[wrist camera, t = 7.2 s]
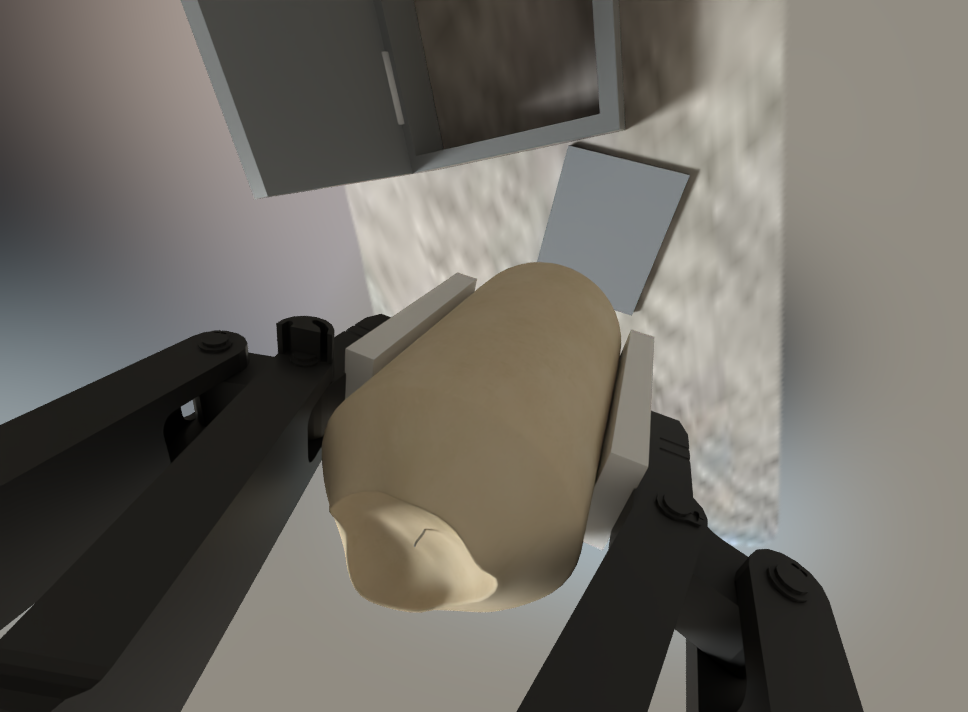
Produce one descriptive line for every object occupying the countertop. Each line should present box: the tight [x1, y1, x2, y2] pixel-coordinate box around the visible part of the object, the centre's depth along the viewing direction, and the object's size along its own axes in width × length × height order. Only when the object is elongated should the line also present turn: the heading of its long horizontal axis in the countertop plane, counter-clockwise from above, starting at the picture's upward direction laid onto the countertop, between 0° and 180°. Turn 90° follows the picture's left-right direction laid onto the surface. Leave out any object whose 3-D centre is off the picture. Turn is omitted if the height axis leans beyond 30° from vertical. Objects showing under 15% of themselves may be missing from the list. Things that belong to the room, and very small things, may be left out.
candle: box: [322, 262, 621, 612], centre depth 11 cm, size 6×6×10 cm
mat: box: [537, 145, 690, 316], centre depth 31 cm, size 10×8×1 cm
